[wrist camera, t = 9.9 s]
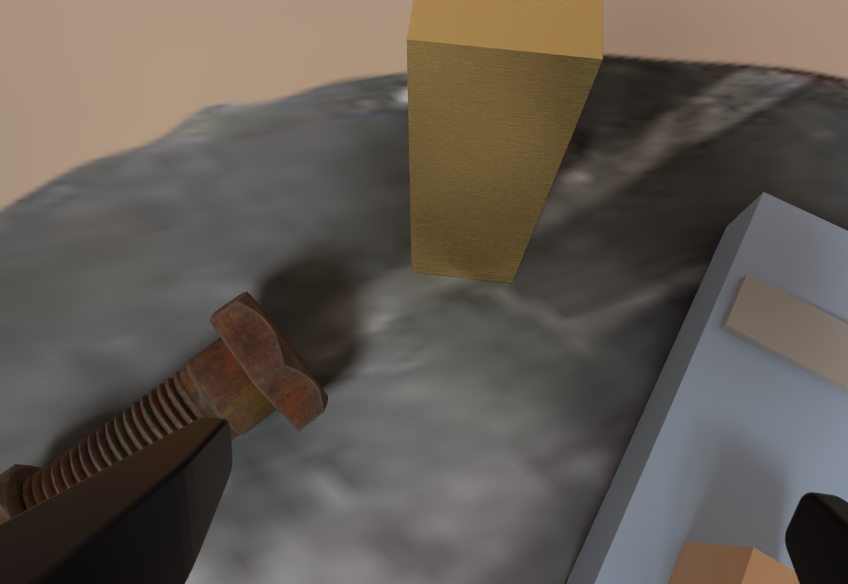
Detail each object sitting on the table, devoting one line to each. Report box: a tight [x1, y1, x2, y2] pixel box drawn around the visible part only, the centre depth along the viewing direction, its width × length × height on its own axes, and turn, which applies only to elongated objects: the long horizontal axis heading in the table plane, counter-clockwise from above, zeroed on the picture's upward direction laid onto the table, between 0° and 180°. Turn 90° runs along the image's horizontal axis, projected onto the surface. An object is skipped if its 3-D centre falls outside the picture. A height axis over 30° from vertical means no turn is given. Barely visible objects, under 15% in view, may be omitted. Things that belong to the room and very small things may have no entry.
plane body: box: [566, 192, 848, 584], centre depth 19 cm, size 18×7×7 cm, turn 149°
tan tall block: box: [407, 0, 603, 283], centre depth 19 cm, size 4×4×13 cm
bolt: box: [0, 292, 328, 524], centre depth 19 cm, size 6×5×15 cm
